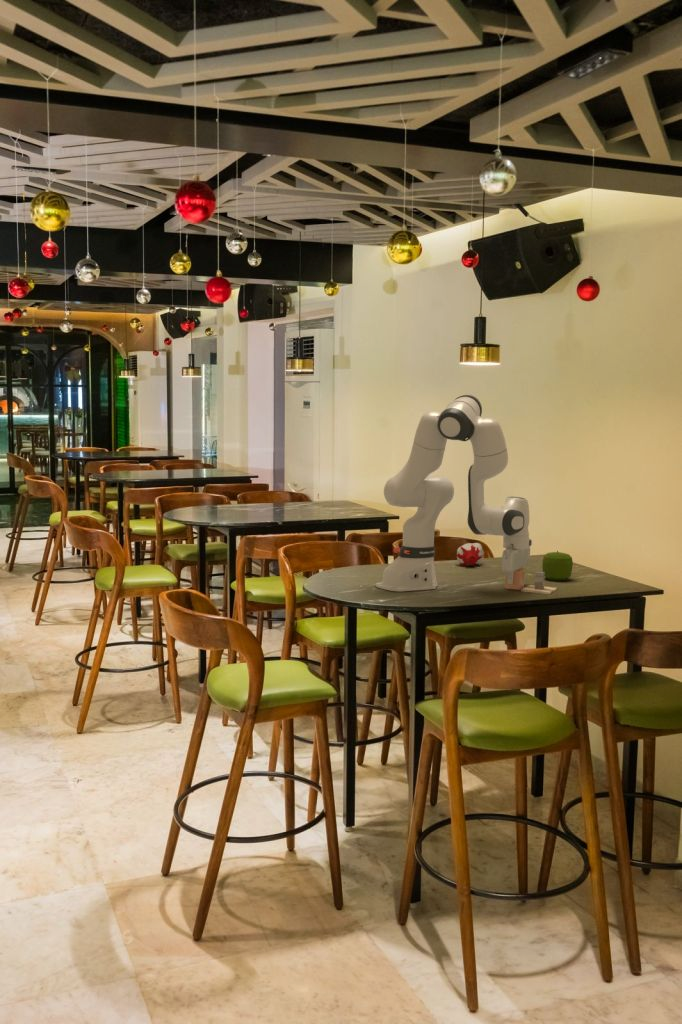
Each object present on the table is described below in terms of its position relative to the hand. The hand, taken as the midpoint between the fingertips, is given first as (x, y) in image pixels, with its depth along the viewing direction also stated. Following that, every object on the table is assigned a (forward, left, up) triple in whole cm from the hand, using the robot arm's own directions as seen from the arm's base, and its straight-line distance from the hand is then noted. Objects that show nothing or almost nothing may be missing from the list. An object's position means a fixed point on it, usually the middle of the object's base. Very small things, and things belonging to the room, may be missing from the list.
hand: (514, 581), depth 322 cm
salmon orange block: (0, 0, -2) cm, 2 cm away
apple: (+26, +4, -3) cm, 27 cm away
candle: (+20, +45, -3) cm, 50 cm away
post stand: (+4, -8, -2) cm, 9 cm away
